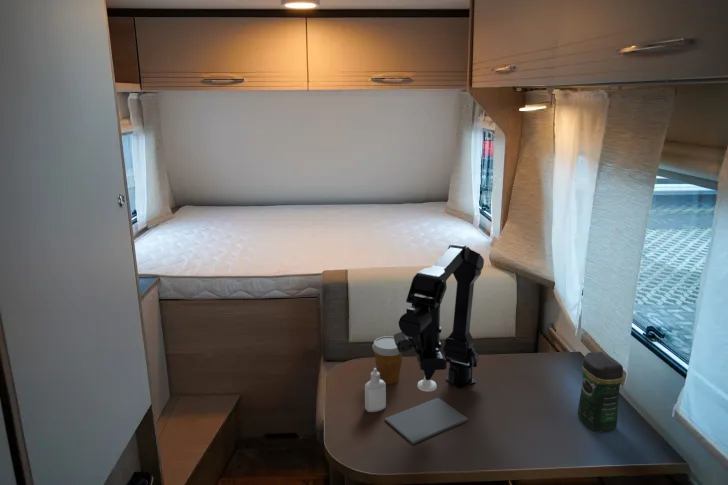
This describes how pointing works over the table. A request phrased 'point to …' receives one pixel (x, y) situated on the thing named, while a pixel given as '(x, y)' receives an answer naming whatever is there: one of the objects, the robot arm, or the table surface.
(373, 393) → the eye dropper bottle
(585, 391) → the coffee jar
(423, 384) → the chess piece
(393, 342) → the disposable coffee cup
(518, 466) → the table surface
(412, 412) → the slate mat
